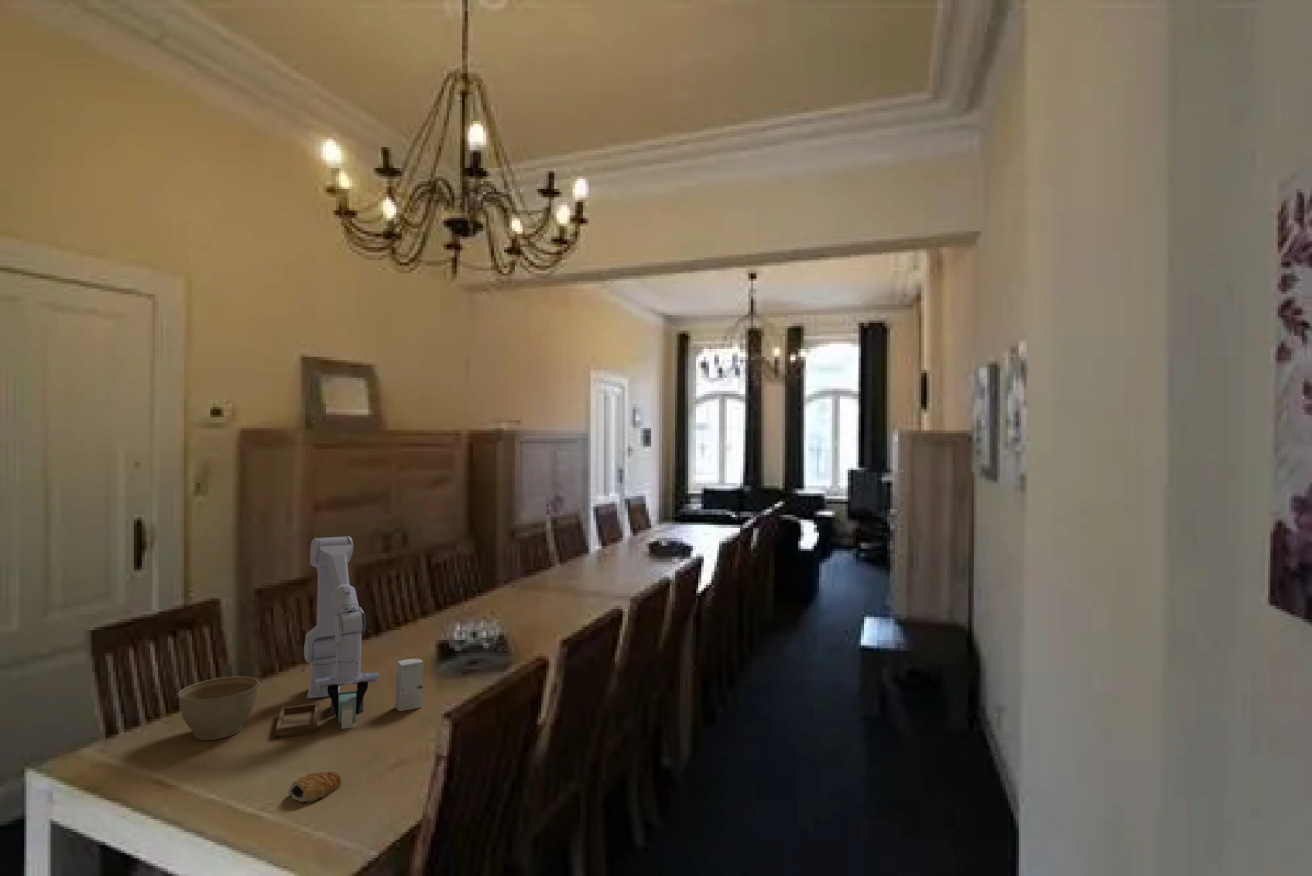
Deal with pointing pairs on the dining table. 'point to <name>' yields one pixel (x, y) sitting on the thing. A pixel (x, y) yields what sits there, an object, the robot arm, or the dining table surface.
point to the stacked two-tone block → (347, 710)
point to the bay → (343, 694)
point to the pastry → (314, 786)
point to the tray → (297, 720)
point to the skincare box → (409, 684)
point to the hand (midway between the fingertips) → (347, 713)
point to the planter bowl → (218, 706)
